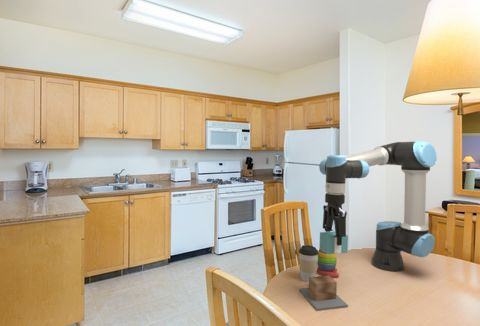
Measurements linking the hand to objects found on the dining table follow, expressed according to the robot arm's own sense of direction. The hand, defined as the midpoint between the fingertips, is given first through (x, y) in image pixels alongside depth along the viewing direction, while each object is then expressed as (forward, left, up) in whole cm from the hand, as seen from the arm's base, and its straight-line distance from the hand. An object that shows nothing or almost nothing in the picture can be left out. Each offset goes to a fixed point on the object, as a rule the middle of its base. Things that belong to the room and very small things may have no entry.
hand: (332, 249), depth 117 cm
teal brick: (0, 0, 0) cm, 0 cm away
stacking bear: (-10, -22, -20) cm, 32 cm away
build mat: (+4, 0, -20) cm, 20 cm away
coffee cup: (+2, -18, -20) cm, 27 cm away
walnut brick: (+4, 0, -19) cm, 19 cm away
